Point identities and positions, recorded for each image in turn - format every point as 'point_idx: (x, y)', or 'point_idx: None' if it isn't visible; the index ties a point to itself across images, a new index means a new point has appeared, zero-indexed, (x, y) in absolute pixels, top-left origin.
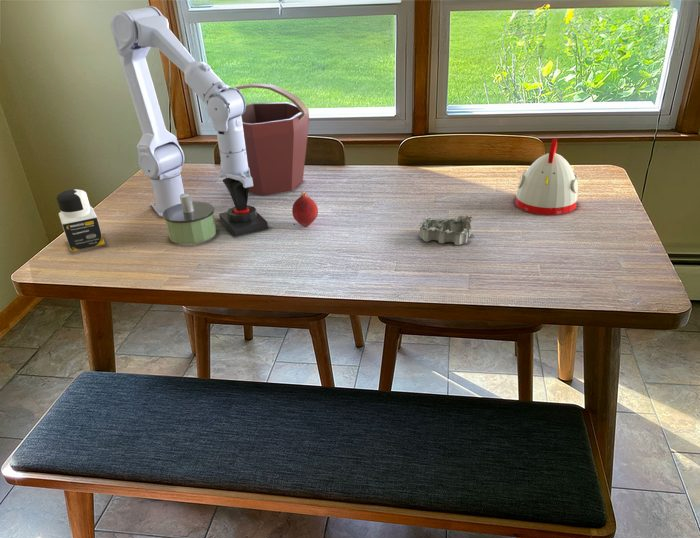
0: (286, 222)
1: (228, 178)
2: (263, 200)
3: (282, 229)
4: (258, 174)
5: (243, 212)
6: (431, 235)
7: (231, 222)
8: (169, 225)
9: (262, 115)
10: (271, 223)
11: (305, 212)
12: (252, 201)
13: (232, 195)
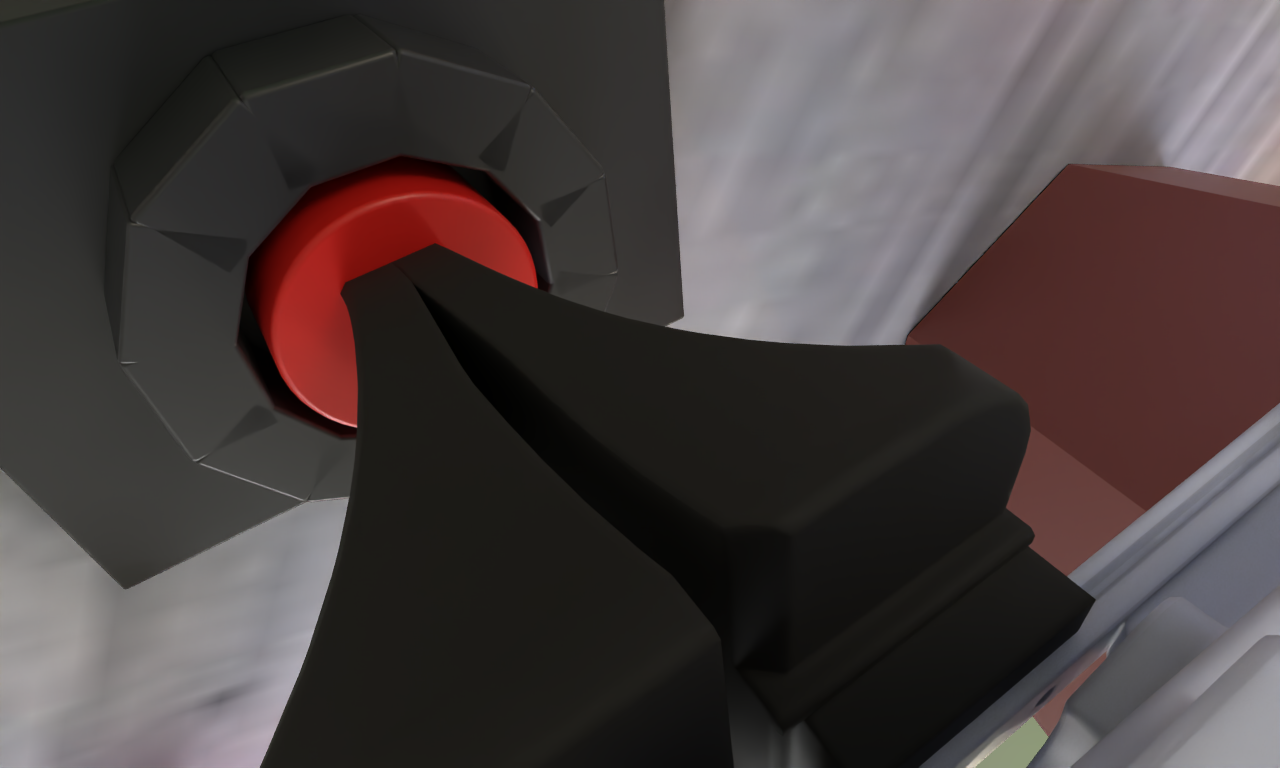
0: (299, 623)
1: (970, 529)
2: (840, 343)
3: (80, 652)
4: (1065, 427)
5: (278, 364)
6: None
7: (151, 72)
8: None
9: None
10: (304, 507)
11: None
12: (873, 260)
13: (479, 401)
